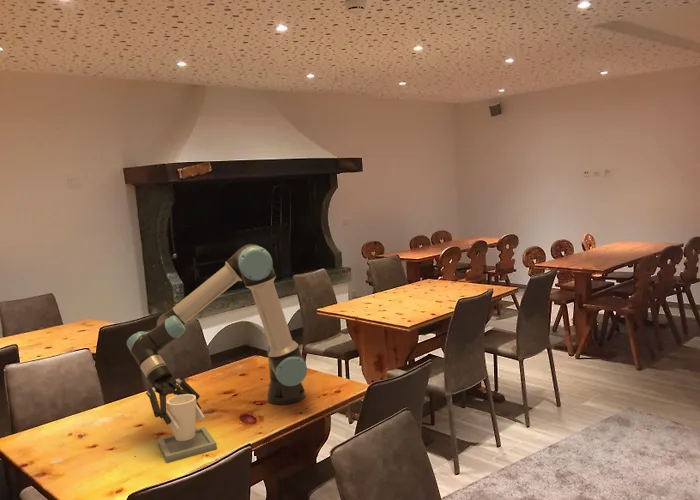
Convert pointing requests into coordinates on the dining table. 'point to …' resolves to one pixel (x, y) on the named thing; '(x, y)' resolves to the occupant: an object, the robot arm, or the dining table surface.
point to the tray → (186, 445)
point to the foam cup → (183, 415)
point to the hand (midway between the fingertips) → (189, 424)
